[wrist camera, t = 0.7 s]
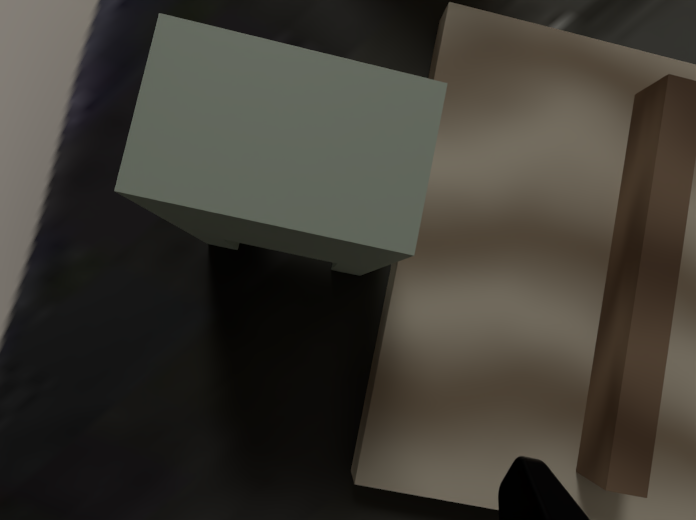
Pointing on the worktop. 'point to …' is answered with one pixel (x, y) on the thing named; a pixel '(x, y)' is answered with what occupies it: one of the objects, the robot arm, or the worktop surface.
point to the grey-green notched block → (281, 147)
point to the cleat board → (545, 280)
